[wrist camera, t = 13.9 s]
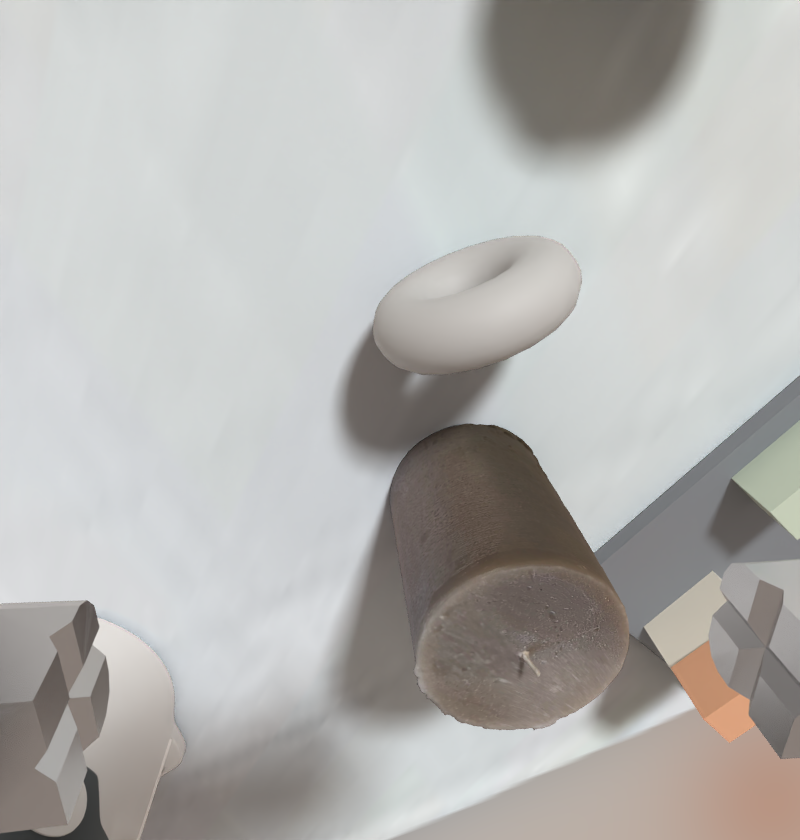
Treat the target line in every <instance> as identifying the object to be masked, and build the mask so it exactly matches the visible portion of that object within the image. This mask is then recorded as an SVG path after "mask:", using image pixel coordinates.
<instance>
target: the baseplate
mask: <svg viewBox="0 0 800 840" xmlns="http://www.w3.org/2000/svg"><path fill="white" fill-rule="evenodd" d="M799 420H800V376H799V377H798V378H797V379H796V380H794V381H793V382H792V383H791V384H790V385H789V386H787V387H786V388H785V389H784V390H783V391H782V392H781V393H779V394H778V395H777V396H776V397H775V398H774V399H772V400H771V401H770V402H769V403H768V404H767V405H765V406H764V407H763V408H762V409H761V410H760V411H759V412H757V413H756V414H755V415H754V416H753V417H752V418H750V419H749V420H748V421H747V422H746V423H745V424H743V425H742V426H741V427H740V428H739V429H738V430H737V431H735V432H734V433H733V434H732V435H731V436H730V437H728V438H727V439H726V440H725V441H724V442H723V443H721V444H720V445H719V446H718V447H717V448H716V449H715V450H713V451H712V452H711V453H710V454H709V455H708V456H706V457H705V458H704V459H703V460H702V461H701V462H699V463H698V464H697V465H696V466H695V467H694V468H693V469H691V470H690V471H689V472H688V473H687V474H686V475H684V476H683V477H682V478H681V479H680V480H679V481H677V482H676V483H675V484H674V485H673V486H672V487H671V488H669V489H668V490H667V491H666V492H665V493H664V494H662V495H661V496H660V497H659V498H658V499H657V500H655V501H654V502H653V503H652V504H651V505H650V506H649V507H647V508H646V509H645V510H644V511H643V512H642V513H640V514H639V515H638V516H637V517H636V518H635V519H634V520H632V521H631V522H630V523H629V524H628V525H627V526H625V527H624V528H623V529H622V530H621V531H620V532H618V533H617V534H616V535H615V536H614V537H613V538H612V539H610V540H609V541H608V542H607V543H606V544H605V545H603V546H602V547H601V548H600V549H599V550H598V551H596V552H595V553H594V555H595V557H596V558H597V560H598V562H599V564H600V565H601V567H602V568H603V570H604V571H605V573H606V575H607V577H608V579H609V580H610V582H611V584H612V586H613V587H614V589H615V591H616V593H617V594H618V596H619V598H620V600H621V602H622V603H623V605H624V607H625V611H626V614H627V618H628V623H629V633H630V634H631V635H632V636H633V637H635V638H636V639H637V640H639V641H640V642H641V643H642V644H644V645H645V646H646V647H647V648H649V649H650V650H651V651H652V652H654V653H655V654H656V655H657V656H659V657H660V658H661V659H662V660H664V658H663V656H662V655H661V653H660V652H659V650H658V649H657V647H656V645H655V644H654V642H653V641H652V639H651V638H650V636H649V634H648V633H647V631H646V630H645V628H644V626H645V625H646V624H648V623H649V622H650V621H651V620H652V619H654V618H655V617H656V616H657V615H659V614H660V613H661V612H662V611H664V610H665V609H666V608H667V607H668V606H670V605H671V604H672V603H673V602H675V601H676V600H677V599H678V598H680V597H681V596H682V595H683V594H684V593H686V592H687V591H688V590H689V589H691V588H692V587H693V586H694V585H696V584H697V583H698V582H699V581H701V580H702V579H703V578H704V577H705V576H707V575H708V574H709V573H710V572H712V571H713V572H715V573H716V574H717V575H718V576H719V577H720V578H721V579H722V578H723V574H724V572H725V571H726V570H727V568H728V567H729V566H730V565H731V563H745V562H761V561H777V560H793V559H800V539H798V540H796V539H795V538H794V537H793V536H792V535H791V534H790V533H789V532H787V531H786V530H785V529H784V528H783V527H782V526H781V525H780V524H778V523H777V522H776V521H775V520H774V519H773V518H772V517H771V516H769V515H768V514H767V513H766V512H765V511H764V510H763V509H762V508H760V507H759V506H758V505H757V504H756V503H755V502H754V501H753V500H752V499H751V498H750V497H749V496H748V495H747V494H746V493H745V492H744V491H743V490H742V489H741V488H740V487H739V486H738V484H737V483H736V482H735V481H734V480H733V479H732V477H733V476H734V475H735V474H737V473H738V472H739V471H740V470H741V469H743V468H744V467H745V466H746V465H747V464H748V463H750V462H751V461H752V460H753V459H754V458H756V457H757V456H758V455H759V454H760V453H761V452H763V451H764V450H765V449H766V448H767V447H769V446H770V445H771V444H772V443H773V442H774V441H776V440H777V439H778V438H779V437H780V436H782V435H783V434H784V433H785V432H786V431H788V430H789V429H790V428H791V427H792V426H793V425H795V424H796V423H797V422H798V421H799ZM664 661H665V660H664ZM665 662H666V661H665Z"/></svg>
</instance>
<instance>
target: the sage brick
mask: <svg viewBox="0 0 800 840" xmlns="http://www.w3.org/2000/svg"><path fill="white" fill-rule="evenodd" d="M732 479H733V480H734V481H735V482H736V483H737V484H738V486H739V487H740V488H741V489H742V490H743V491H744V492H745V493H746V494H747V495H748V496H749V497H750V498H751V499H752V500H753V501H754V502H755V503H756V504H757V505H758V506H759V507H760V508H762V509H763V510H764V511H765V512H766V513H767V514H768V515H769V516H771V517H772V518H773V519H774V520H775V521H776V522H777V523H778V524H780V525H781V526H782V527H783V528H784V529H785V530H786V531H787V532H789V533H790V534H791V535H792V536H793V537H794V538H795V539H796V540H798V539H800V420H799V421H798V422H797V423H796V424H795V425H793V426H792V427H791V428H790V429H789V430H788V431H786V432H785V433H784V434H783V435H782V436H780V437H779V438H778V439H777V440H776V441H774V442H773V443H772V444H771V445H770V446H769V447H767V448H766V449H765V450H764V451H763V452H761V453H760V454H759V455H758V456H757V457H756V458H754V459H753V460H752V461H751V462H750V463H748V464H747V465H746V466H745V467H744V468H743V469H741V470H740V471H739V472H738V473H737V474H735V475H734V476H733V477H732Z"/></svg>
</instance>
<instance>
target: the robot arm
mask: <svg viewBox="0 0 800 840" xmlns="http://www.w3.org/2000/svg"><path fill="white" fill-rule="evenodd" d="M720 590H721V592H722V594H723V595H724V597H725V599H726V600H727V601H726V602H725V603H724V604H723V605H722V606H721V607H720V608H719V609H718V610H717V611H716V612H715V613H714V614H713V615H712V620H711V625H710V630H709V634H708V637H709V644H710V651H711V657H712V659H713V661H714V664H715V666H716V668H717V671H718V673H719V674H720V675H721V677H722V678H723V680H724V681H725V683H726V684H727V686H728V687H729V688H731V689H733V690H734V691H736V692H738V693H739V694H741V695H743V696H744V697H746V698H748V699H749V700H750V702H749V714H748V715H749V716H750V717H751V719H752V720H753V722H754V723H755V724H756V726H757V727H758V728H759V730H760V731H761V733H762V734H763V735H764V737H765V738H766V739H767V741H768V742H769V743H770V745H771V746H772V747H773V749H774V750H775V752H776V753H777V754H778V756H779V757H780V759H788V758H800V559H793V560H777V561H761V562H745V563H731V565H730V566H729V567H728V568H727V570H726V571H725V572H724V574H723V578H722V581H721V585H720ZM174 704H175V694H174V687H173V683H172V680H171V677H170V675H169V672H168V670H167V668H166V667H165V665H164V663H163V662H162V661H161V659H160V658H159V657H158V655H157V654H156V653H155V652H154V651H153V650H152V649H151V648H150V647H149V646H148V645H147V644H146V643H145V642H143V641H142V640H141V639H139V638H138V637H137V636H135V635H134V634H132V633H130V632H129V631H127V630H125V629H124V628H122V627H120V626H118V625H115V624H113V623H111V622H108V621H106V620H103V619H100V618H97V615H96V611H95V607H94V605H93V604H91V603H90V602H89V601H87V600H83V601H55V602H28V603H2V604H0V840H140V838H141V834H142V831H143V828H144V825H145V822H146V819H147V816H148V813H149V810H150V807H151V804H152V801H153V798H154V795H155V792H156V788H157V785H158V782H159V779H160V777H162V776H163V775H165V774H166V773H168V772H170V771H171V770H173V769H174V768H176V767H177V766H178V765H179V764H180V763H181V761H182V759H183V756H184V753H185V750H186V744H185V740H184V738H183V736H182V734H181V732H180V730H179V728H178V727H177V725H176V723H175V720H174Z"/></svg>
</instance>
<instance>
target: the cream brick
mask: <svg viewBox="0 0 800 840" xmlns="http://www.w3.org/2000/svg"><path fill="white" fill-rule="evenodd" d="M721 581H722V579H721V578H720V577H719V576H718V575H717V574H716V573H715V572H713V571H712V572H710V573H709V574H708V575H707V576H705V577H704V578H703V579H702V580H701V581H699V582H698V583H697V584H696V585H694V586H693V587H692V588H691V589H689V590H688V591H687V592H686V593H684V594H683V595H682V596H681V597H680V598H678V599H677V600H676V601H675V602H673V603H672V604H671V605H670V606H668V607H667V608H666V609H665V610H664V611H662V612H661V613H660V614H659V615H657V616H656V617H655V618H654V619H652V620H651V621H650V622H649V623H648V624H646V625H645V626H644V628H645V630H646V631H647V633H648V634H649V636H650V638H651V639H652V641H653V642H654V644H655V645H656V647H657V649H658V650H659V652H660V653H661V655H662V656H663V658H664V660H665V661H666V663H667V664H668V666H669V667H670V669H671V667H672V666H674V665H675V664H677V663H678V662H679V661H681V660H682V659H684V658H685V657H686V656H688V655H689V654H690V653H692V652H693V651H695V650H696V649H697V648H699V647H700V646H701V645H703V644H704V643H706V642H707V641H708V640H709V637H708V634H709V630H710V625H711V620H712V615H713V614H714V613H715V612H716V611H717V610H718V609H719V608H720V607H721V606H722V605H723V604H724V603H725V602H726V601H727V600H726V599H725V597H724V595H723V594H722V592H721V590H720V585H721ZM671 670H672V669H671Z"/></svg>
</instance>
